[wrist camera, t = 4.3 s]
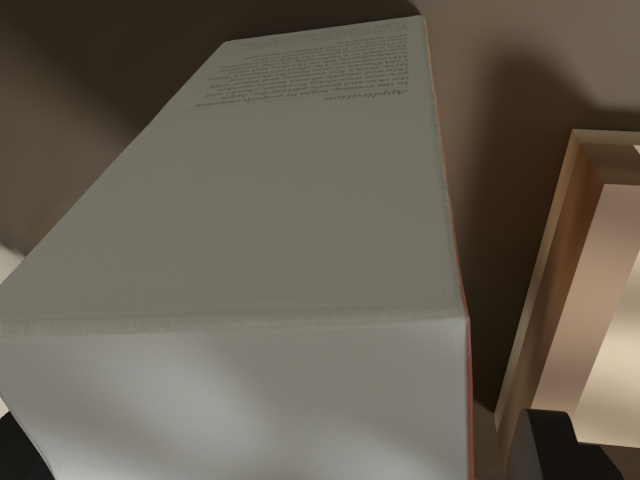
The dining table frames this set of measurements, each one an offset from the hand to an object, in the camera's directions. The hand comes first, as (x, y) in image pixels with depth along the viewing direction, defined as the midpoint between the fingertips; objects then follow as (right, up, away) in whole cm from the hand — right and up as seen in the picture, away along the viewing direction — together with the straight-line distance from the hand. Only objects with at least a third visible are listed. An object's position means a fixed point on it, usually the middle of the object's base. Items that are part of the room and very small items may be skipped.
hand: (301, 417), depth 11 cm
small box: (+1, +7, +8) cm, 11 cm away
